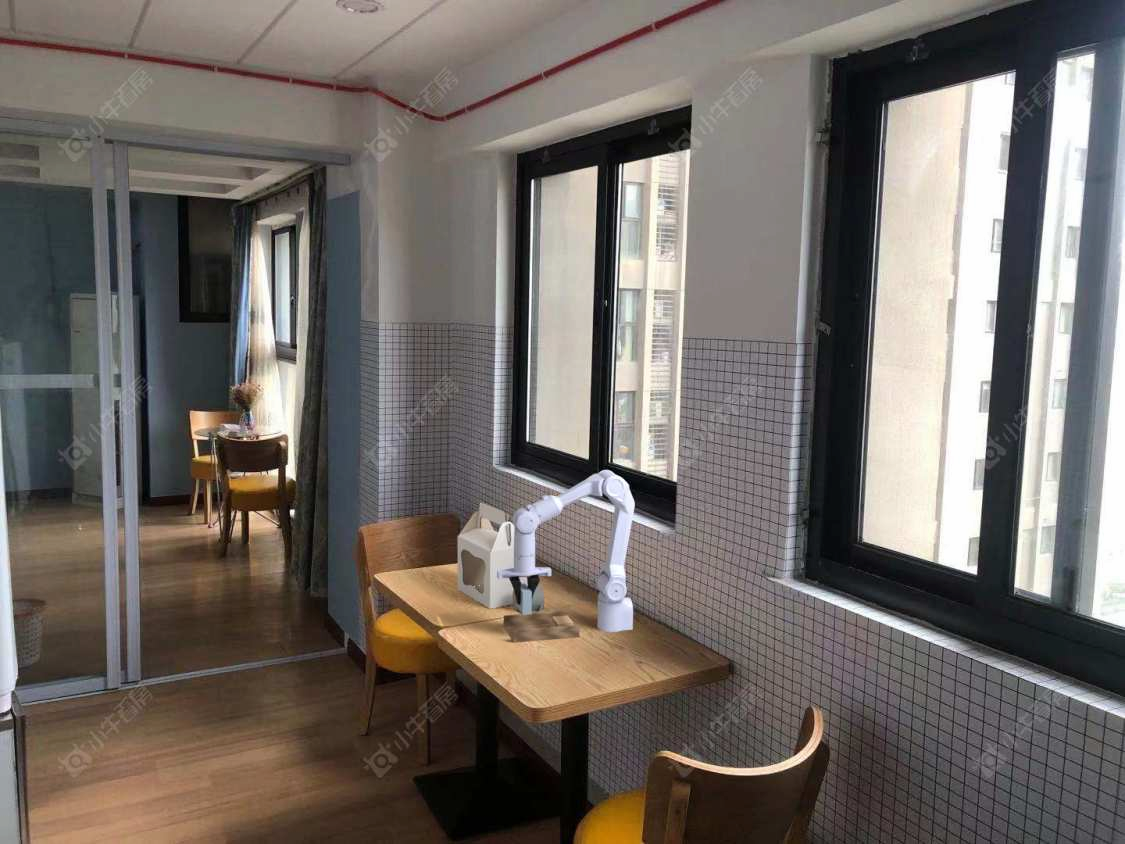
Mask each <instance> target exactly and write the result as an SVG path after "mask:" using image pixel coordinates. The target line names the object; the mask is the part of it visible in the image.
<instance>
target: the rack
mask: <svg viewBox="0 0 1125 844" xmlns="http://www.w3.org/2000/svg"><path fill="white" fill-rule="evenodd" d="M554 616H568V617H569V615H568V610H561V611H560V610H559V611H547V612H545V611H544V612H541V613H537V612H535V613H534V612H532V614H526V615H523V614H522V613H519V614H507V615H506V614H504V615H503V628H504V629H505V631H506V633H507V634H508V636H509V638H510V639H511V641H512V643H514V644H515V643H516V644H517V643H526V642H528V643H529V642H538V641H539V642H541V641H552V640H564V639H575V638H580V630H581V629H580V627H581V626H580V625H579V624H575V625H573V626H560V627H550V621H552V617H554Z"/></svg>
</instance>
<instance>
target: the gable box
mask: <svg viewBox="0 0 1125 844" xmlns="http://www.w3.org/2000/svg"><path fill="white" fill-rule="evenodd" d="M511 515H512V514H509V513H507V512H506V510H503V509H500V508H497V507H495V506H493V505H490V504H488V503H485V502H482V501H481V502H480V503H479V509H478V510H475V511H474V512H473V513H472V515H471V516H470V517H469V519H468V520H467V522H466V524H465V525H464V526H463V528H462V529H461V531H460V532H459V534H458V535H457V590H458V589H459V590H460V591H459V590H458V591H459V592H461V591H462V592H463V593H462V592H461V593H462V594H464V593H465V594H464V595H466V596H467V595H468V597H469V598H471V599H472V598H473V600H474V601H476V602H477V601H478V603H479V602H480V603H479V604H481V605H482V604H483V605H482V606H484V607H486V608H487V607H488V608H487V609H489V608H493V609H497V608H496V607H499V608H502V607H501V606H504V607H508V606H507V605H510V606H514V605H513V590H514V589H513V586H512V584H511V582H510V580H509V578H503V579H499V580H498V578H497V571H498V570H506V569H511V568H514V528H515V526H514V525H513V523H512V521H509V520H510V518H511ZM491 522H493V523H495V524H498V525H499V529H498V530H497V531H496V530H495V529H494V527H493V526H492V524H491ZM519 579H520V581H521V584H524V583H525V584H526V585H527V586H528V583H527V577H519ZM479 585H480V586H479ZM474 586H475V587H474Z"/></svg>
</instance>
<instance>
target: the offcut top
mask: <svg viewBox="0 0 1125 844" xmlns="http://www.w3.org/2000/svg"><path fill="white" fill-rule="evenodd" d="M552 622H553V624H554V625H555V626H556V627H560V626H573V625H574V622H573V620H572V619H571V618H570V617H569V615H568V616H554V617H552Z"/></svg>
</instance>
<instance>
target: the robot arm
mask: <svg viewBox="0 0 1125 844" xmlns="http://www.w3.org/2000/svg"><path fill="white" fill-rule="evenodd" d="M603 494H604V495H605V496H606V497H607V498H608V499H609V501H610V503H612V505H613V506H614V511H613V518H612V522H611V528H610V535H609V540H608V546H607V551H606V557H605V561H604V563H603V565H602V566H601V570H600V573H599V574H598V575H597V577H596V579H595V585H596V588H597V590H598V591H599V593H598V596H597V621H596V622H597V626H596V627H597V629H598V630H599V631H602V632H606V633H607V632H608V633H616V632H620V631H631V630H633V629H634V627H633V626H634V605H633V601H632V599H631V598H630V597H625V596H627V592H628V588H627V585H626V578H627V576H626V569H625V563H626V559H627V558H626V557H627V552H628V546H629V540H630V536H631V535H630V534H631V530H632V525H633V524H632V523H633V519H634V512H635V506H636V504H635V500H634V496H633V495H632V492H631V489H630V484H629V483H628V482H627V481H626V480H625V479H624V478H623V477H621V476H619V475H617V474H615V473H614V472H613V471H611V470H609V469H603V470H601V471H599V472H597V473H593V474H592V475H590V476H589V477H587V478H586V479H585V480H582V481H581V482H579V483H577V484H575V485H574V486H573V487H570V488H569V489H567V490H566V491H563V492H562V493H560V494H558V495H556V496H555V495H553V494H549V495H547V494H544V495H542V496H541V497H542V498H541V499H540V500H538V501H536V502H535V503H532V504H530V503H528V504H527V505H526V507H525V508H523V507H521V508H519V509H517V510H516V511H514V514H513V516H512V518H511V523H512V524H513V525H514V526H515V528H514V568H511V569H506V570H498V571H497V578H498V580H499V579H503V578H509V580H510V582H511V584H512V586H513V589H514V592H515V596H516V603H517V604H518V605H520V604H521V596H520V592H521V581H520V579H519V577H527V583H528V588H529V589H530V590H531V592H532V599H533V595H534V592H535V590H536V588H537V586H538V584H540V580H541V579H540V577H545V576H547V577H552V568H551V567H546V566H545V567H541V566H539V567H538V566H536V530H537V528H538V526H539V525H542V524H544V523H546V522H547V521H550V520H551V519H553V518H555V517H557V516H559V515H561V513H562V510H563V508H564V507H566V506H568V505H571V504H573V503H575V502H578V501H579V500H581V499H583V498H586V497H588V496H596V497H603Z"/></svg>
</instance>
